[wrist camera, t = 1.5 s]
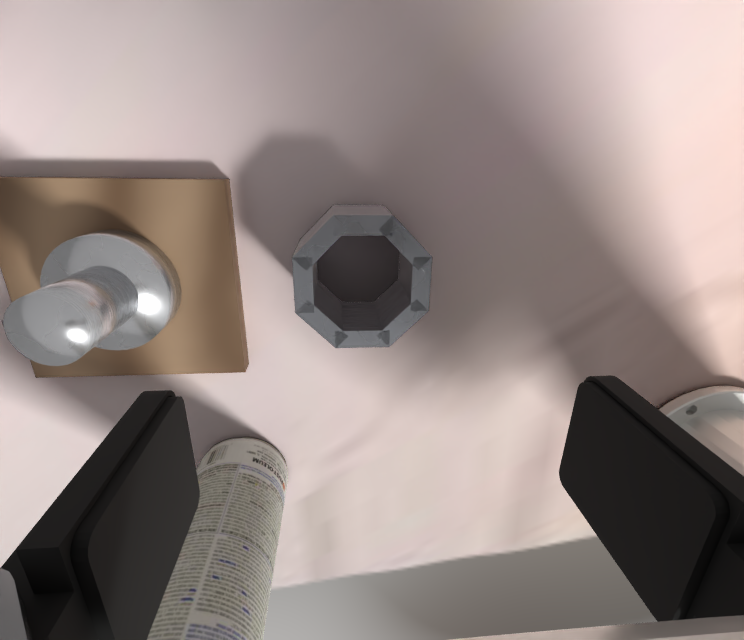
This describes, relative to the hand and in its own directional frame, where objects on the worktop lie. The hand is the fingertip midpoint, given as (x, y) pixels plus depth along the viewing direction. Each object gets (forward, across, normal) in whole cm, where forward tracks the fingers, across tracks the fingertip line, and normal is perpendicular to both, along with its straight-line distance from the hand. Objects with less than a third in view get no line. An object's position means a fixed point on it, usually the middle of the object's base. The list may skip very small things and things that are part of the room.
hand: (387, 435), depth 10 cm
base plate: (+18, +14, +1) cm, 23 cm away
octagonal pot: (+18, 0, 0) cm, 18 cm away
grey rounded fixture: (+17, +14, +1) cm, 22 cm away
